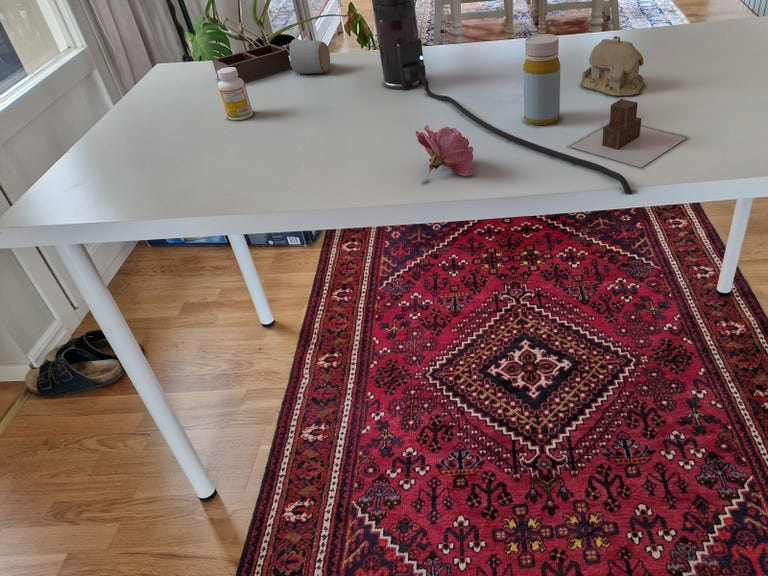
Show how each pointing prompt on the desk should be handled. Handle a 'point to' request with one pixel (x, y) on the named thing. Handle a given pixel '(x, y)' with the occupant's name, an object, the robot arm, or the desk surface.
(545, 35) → the bottle
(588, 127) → the desk surface
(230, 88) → the supplement bottle
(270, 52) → the compartment organizer
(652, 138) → the stack of crates
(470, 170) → the flower
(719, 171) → the desk surface
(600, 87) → the ceramic model
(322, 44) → the ceramic mug
